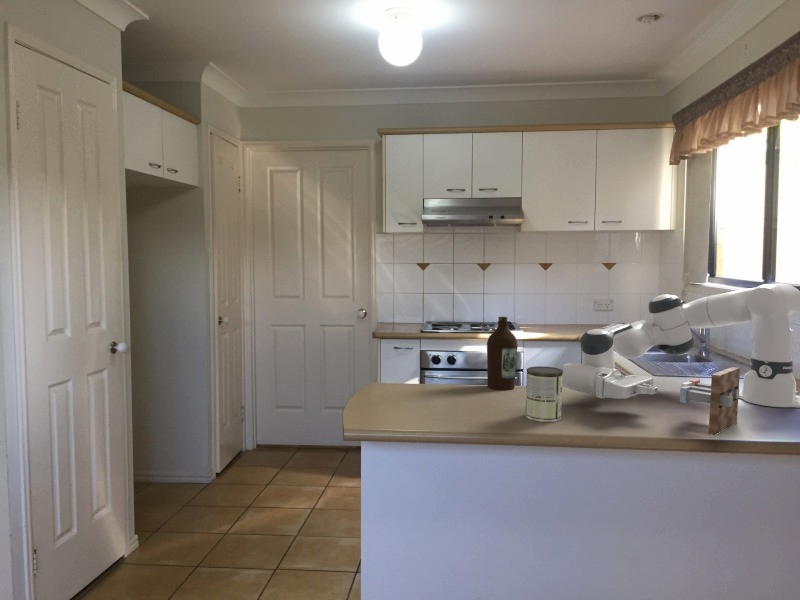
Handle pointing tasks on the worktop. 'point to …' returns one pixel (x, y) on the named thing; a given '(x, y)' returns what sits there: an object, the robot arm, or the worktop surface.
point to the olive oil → (501, 357)
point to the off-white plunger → (701, 388)
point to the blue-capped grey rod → (702, 396)
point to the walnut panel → (719, 386)
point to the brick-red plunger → (697, 383)
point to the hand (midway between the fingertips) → (655, 390)
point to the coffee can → (544, 394)
